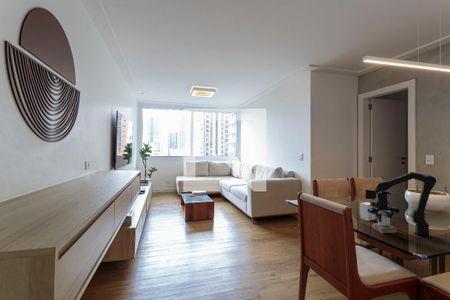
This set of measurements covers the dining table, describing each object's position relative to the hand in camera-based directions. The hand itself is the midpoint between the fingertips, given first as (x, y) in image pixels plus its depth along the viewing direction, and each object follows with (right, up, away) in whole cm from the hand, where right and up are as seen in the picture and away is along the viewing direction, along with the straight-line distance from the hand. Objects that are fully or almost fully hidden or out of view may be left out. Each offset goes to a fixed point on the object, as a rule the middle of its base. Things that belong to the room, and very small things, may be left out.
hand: (383, 222), depth 156 cm
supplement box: (+4, -5, +23) cm, 24 cm away
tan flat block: (0, -5, 0) cm, 5 cm away
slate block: (0, -1, 0) cm, 1 cm away
